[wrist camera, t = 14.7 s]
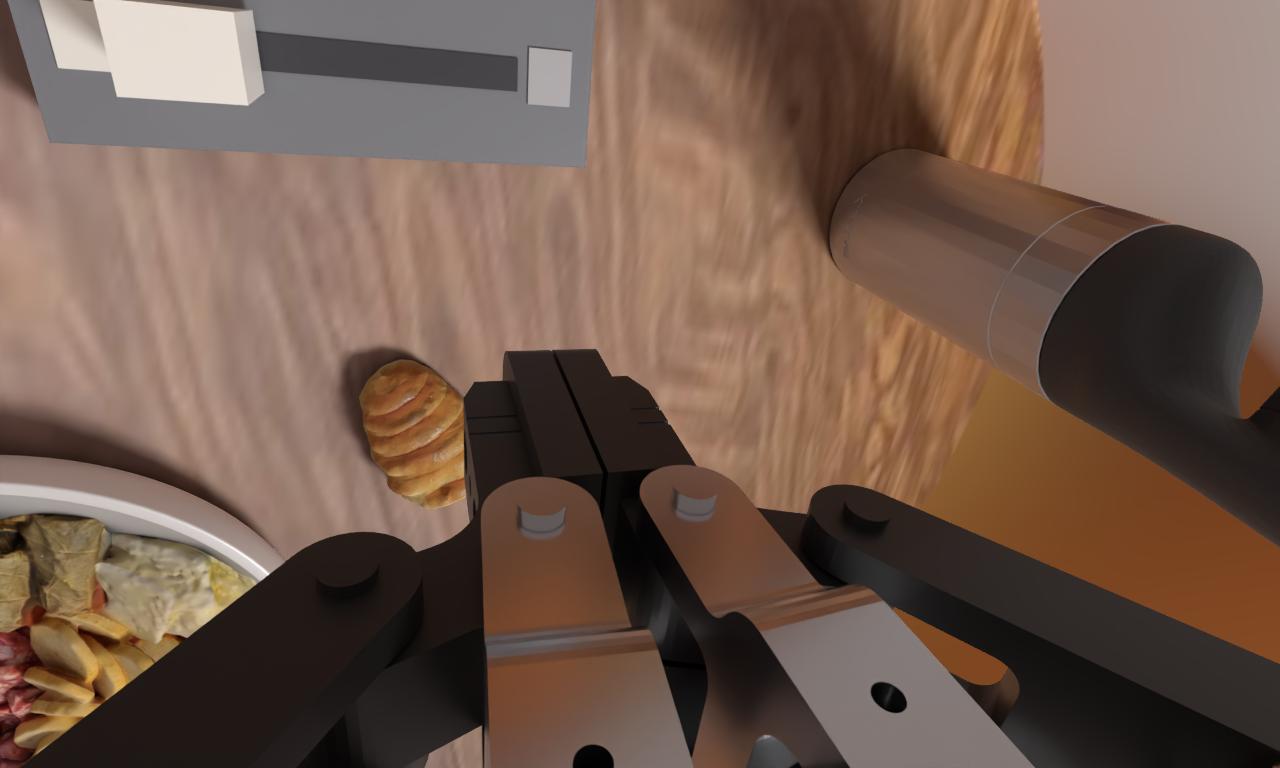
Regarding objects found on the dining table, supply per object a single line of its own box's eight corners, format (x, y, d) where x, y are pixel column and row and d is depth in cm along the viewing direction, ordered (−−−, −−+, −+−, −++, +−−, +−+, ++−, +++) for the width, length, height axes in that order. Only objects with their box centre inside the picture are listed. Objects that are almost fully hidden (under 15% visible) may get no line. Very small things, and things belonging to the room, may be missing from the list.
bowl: (-201, 319, 29) (-366, 409, 23) (410, 538, 45) (415, 628, 39) (-409, 755, 35) (-586, 924, 29) (196, 812, 51) (169, 929, 45)
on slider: (252, 10, 26) (233, 12, 23) (264, 92, 28) (248, 105, 24) (131, -4, 25) (92, -3, 22) (150, 84, 26) (117, 96, 23)
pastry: (328, 383, 38) (323, 417, 35) (437, 335, 39) (442, 364, 36) (408, 494, 44) (410, 532, 40) (503, 449, 44) (512, 483, 41)
